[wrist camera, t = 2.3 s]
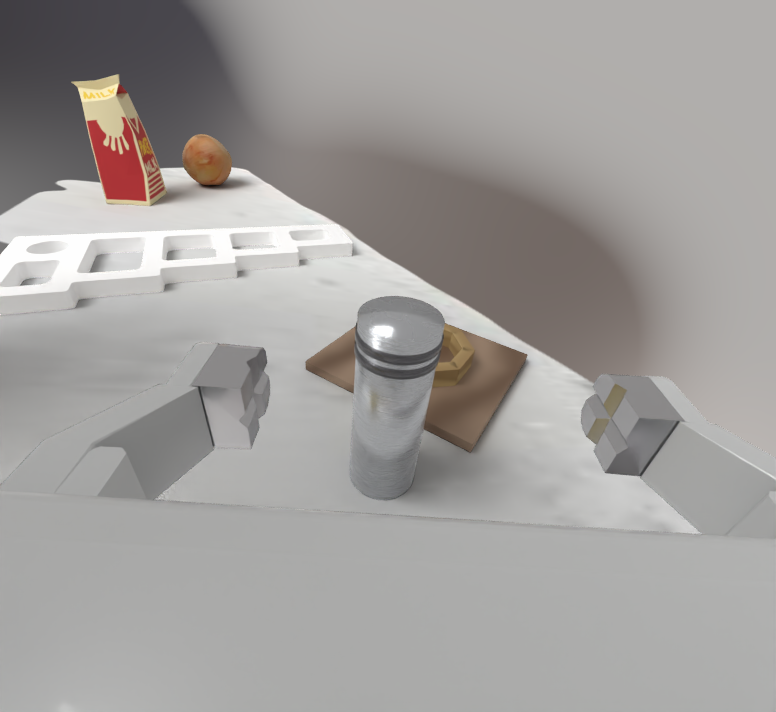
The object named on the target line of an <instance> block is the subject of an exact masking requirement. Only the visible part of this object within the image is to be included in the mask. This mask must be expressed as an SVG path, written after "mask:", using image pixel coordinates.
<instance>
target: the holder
mask: <svg viewBox="0 0 776 712" xmlns="http://www.w3.org/2000/svg"><path fill="white" fill-rule="evenodd" d="M257 245H274V246H276V248H261V249H243V250H236V249H233V247H239V246H257ZM203 248H214V249H216V256H215V257H212V258H199V259H183V260H167V252H168V251H171V250H185V249H203ZM352 249H353V242H352V241H351V240H350V238H349V237H348V236H347V235H346V234H345V232H344V231H343V230H342V229H341V228H340V226H339V225H337V224H328V225H302V226H277V227H252V228H226V229H201V230H175V231H150V232H125V233H99V234H74V235H49V236H23V237H15V238H14V239H13V240H12V242H11V243H10V244H9V245H8V246H7V248H6V249H5V250H4V251H3V252H2V253H1V254H0V316H1V315H12V314H22V313H33V312H44V311H54V310H65V309H73V308H75V307H76V304H77V302H78V300H80V299H87V298H98V297H110V296H121V295H133V294H144V293H156V292H163V291H164V287H165V284H169V283H181V282H193V281H206V280H218V279H230V278H237V277H238V275H237V271H243V270H256V269H269V268H283V267H296V266H299V260H306V259H320V258H335V257H349V256H352ZM131 252H144V253H143V258H142V263H141V267H140V268H139V269H135V270H124V271H109V272H95V273H89V272H90V270H91V267H92V265H93V262H94V260H95V257H96V256H97V255H100V254H113V253H131ZM47 277H51V279H50V281H49V282H47V283H44V284H39V285H26V286H20V285H21V283H22V282H23V281H24V280H26V279H30V278H47Z"/></svg>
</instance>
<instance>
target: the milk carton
mask: <svg viewBox="0 0 776 712" xmlns="http://www.w3.org/2000/svg"><path fill="white" fill-rule="evenodd" d="M72 83H73V84H74V85H76V86H77V87H78V90H79V93H80V97H81V101H82V104H83V109H84V114H85V119H86V123H87V128H88V133H89V137H90V141H91V145H92V149H93V153H94V157H95V162H96V165H97V170H98V174H99V178H100V181H101V185H102V188H103V192H104V195H105V199H106V202H107V203H112V204H132V205H144V206H151V205H152V204H153V203H155V202H156V201H157V200H159V199H160V198H161V197H163V196H164V195H165V194H166V193H167V191H166V188H165V185H164V181H163V178H162V175H161V172H160V168H159V166H158V163H157V160H156V158H155V155H154V152H153V150H152V147H151V145H150V142H149V140H148V137H147V135H146V132H145V130H144V128H143V125H142V123H141V121H140V119H139V117H138V115H137V112H136V110H135V108H134V106H133V104H132V102H131V100H130V98H129V95H128V93H127V92H126V91H125V90H124V88H123V87H122V86H121V85H120V83H119V74H118V75H114V76H110V77H107V78H103V79H99V80H96V81H81V82H72Z"/></svg>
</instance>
